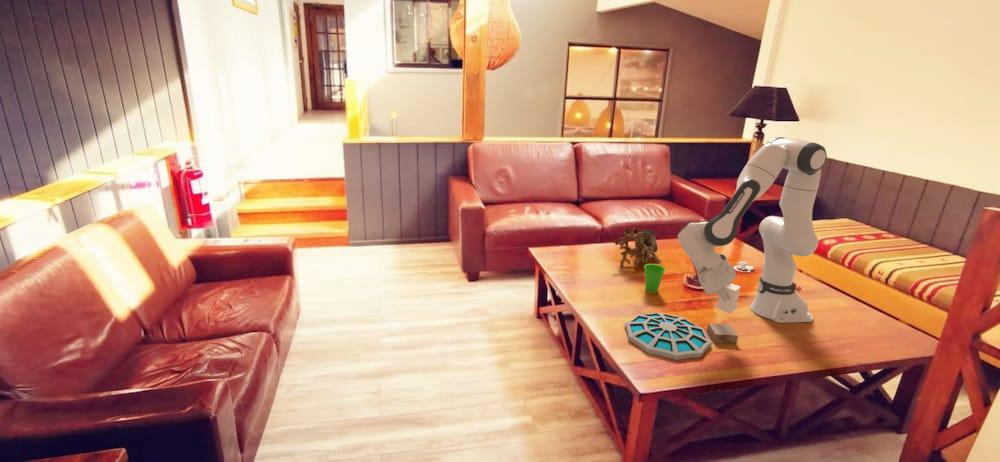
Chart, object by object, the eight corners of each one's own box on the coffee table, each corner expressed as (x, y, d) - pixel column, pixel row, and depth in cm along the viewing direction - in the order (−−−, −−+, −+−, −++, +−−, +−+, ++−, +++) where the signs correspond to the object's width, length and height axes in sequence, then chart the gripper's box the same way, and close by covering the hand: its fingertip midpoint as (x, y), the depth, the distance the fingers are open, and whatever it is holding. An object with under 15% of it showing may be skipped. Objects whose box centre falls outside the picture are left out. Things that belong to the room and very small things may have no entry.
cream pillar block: (722, 304, 179) (726, 282, 176) (736, 309, 176) (740, 286, 173) (716, 308, 176) (721, 286, 173) (730, 313, 173) (735, 290, 170)
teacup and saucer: (753, 269, 243) (755, 262, 242) (751, 274, 237) (753, 267, 235) (734, 265, 247) (736, 258, 246) (732, 270, 241) (733, 263, 240)
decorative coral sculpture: (668, 241, 257) (675, 250, 229) (642, 273, 262) (646, 285, 234) (630, 214, 259) (632, 220, 232) (605, 246, 264) (604, 255, 237)
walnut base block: (728, 332, 183) (730, 324, 182) (736, 344, 176) (738, 335, 175) (706, 331, 184) (708, 323, 183) (713, 342, 176) (715, 334, 175)
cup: (663, 295, 212) (666, 272, 208) (641, 293, 213) (644, 270, 210) (660, 287, 220) (664, 264, 216) (640, 284, 222) (643, 262, 218)
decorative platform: (621, 314, 196) (622, 303, 194) (695, 320, 193) (697, 308, 191) (632, 357, 167) (633, 345, 165) (720, 365, 164) (722, 352, 162)
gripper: (703, 267, 168) (726, 302, 165) (726, 253, 182) (748, 285, 179) (689, 275, 172) (711, 309, 169) (712, 261, 186) (734, 292, 183)
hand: (730, 297), depth 174 cm, fingers closed on cream pillar block, 5 cm apart
